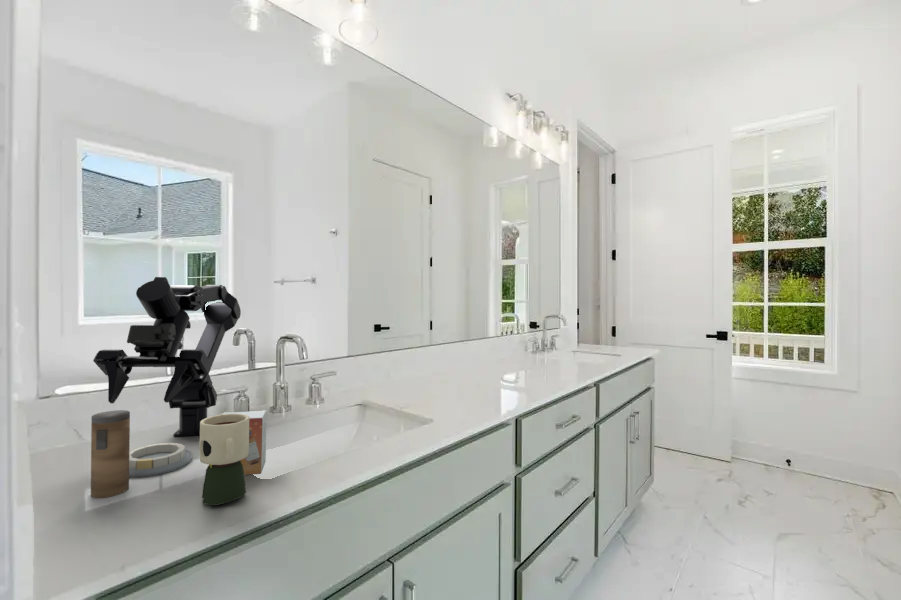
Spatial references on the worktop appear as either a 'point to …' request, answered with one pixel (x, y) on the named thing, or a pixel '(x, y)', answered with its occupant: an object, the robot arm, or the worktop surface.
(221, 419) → the character mug
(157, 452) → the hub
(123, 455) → the brown wooden canister
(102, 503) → the worktop surface
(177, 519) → the worktop surface
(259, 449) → the small box
